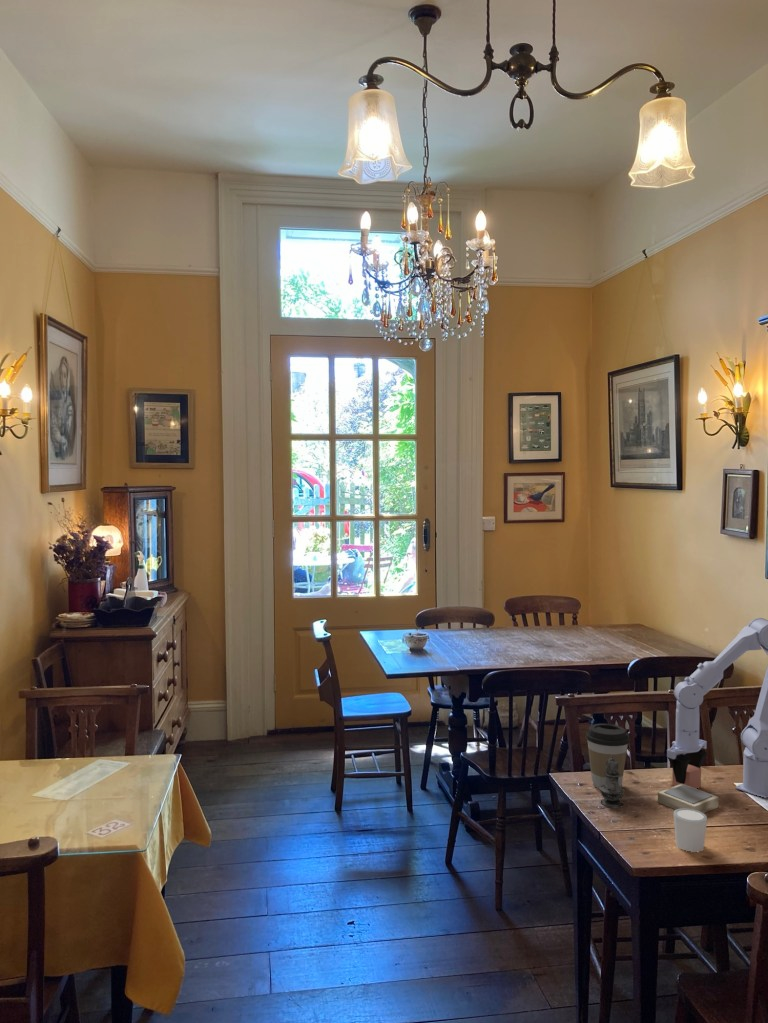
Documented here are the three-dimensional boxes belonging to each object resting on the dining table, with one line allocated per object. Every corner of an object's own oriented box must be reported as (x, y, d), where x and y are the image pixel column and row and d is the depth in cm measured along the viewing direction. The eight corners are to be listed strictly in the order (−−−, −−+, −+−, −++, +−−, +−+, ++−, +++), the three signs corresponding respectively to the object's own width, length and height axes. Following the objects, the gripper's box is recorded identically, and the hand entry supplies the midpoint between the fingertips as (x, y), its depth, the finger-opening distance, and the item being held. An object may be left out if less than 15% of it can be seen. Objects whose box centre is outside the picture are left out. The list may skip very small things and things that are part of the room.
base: (681, 793, 190) (682, 782, 190) (718, 807, 182) (718, 796, 182) (657, 802, 185) (657, 791, 184) (694, 817, 176) (694, 805, 176)
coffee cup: (632, 781, 198) (632, 725, 197) (626, 797, 187) (627, 738, 187) (588, 774, 203) (588, 719, 202) (580, 789, 192) (581, 732, 192)
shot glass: (703, 857, 157) (704, 824, 157) (669, 848, 161) (670, 816, 160) (709, 844, 163) (709, 812, 163) (676, 836, 167) (676, 805, 166)
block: (683, 781, 198) (684, 762, 198) (700, 787, 194) (701, 768, 194) (672, 785, 195) (672, 766, 195) (689, 791, 191) (689, 772, 191)
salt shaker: (625, 809, 180) (626, 760, 180) (600, 807, 182) (600, 758, 181) (622, 799, 186) (623, 752, 186) (598, 797, 187) (598, 750, 187)
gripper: (690, 720, 202) (689, 769, 202) (657, 729, 193) (656, 781, 194) (714, 726, 196) (713, 777, 196) (681, 737, 188) (680, 790, 188)
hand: (686, 780), depth 195 cm, fingers closed on block, 5 cm apart
